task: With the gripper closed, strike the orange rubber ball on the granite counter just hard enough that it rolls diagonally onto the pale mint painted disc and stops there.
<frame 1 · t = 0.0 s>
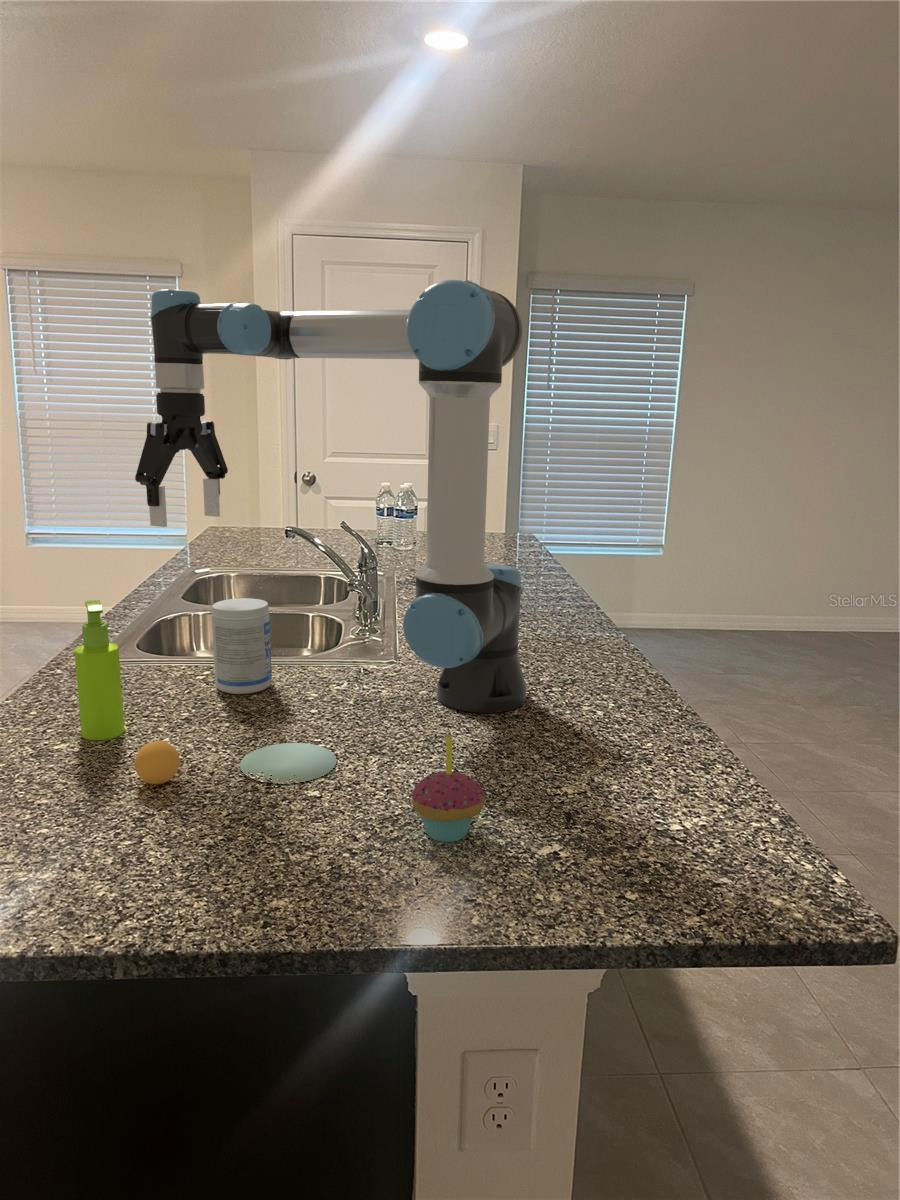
hand: (186, 521, 141), 28 cm above the worktop, tool pointing down, fingers open, 13 cm apart
soap dispenser: (103, 735, 123), on the worktop
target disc: (288, 763, 115), on the worktop
supplement tub: (243, 687, 144), on the worktop
cupcake: (447, 834, 98), on the worktop
ball: (157, 762, 108), on the worktop
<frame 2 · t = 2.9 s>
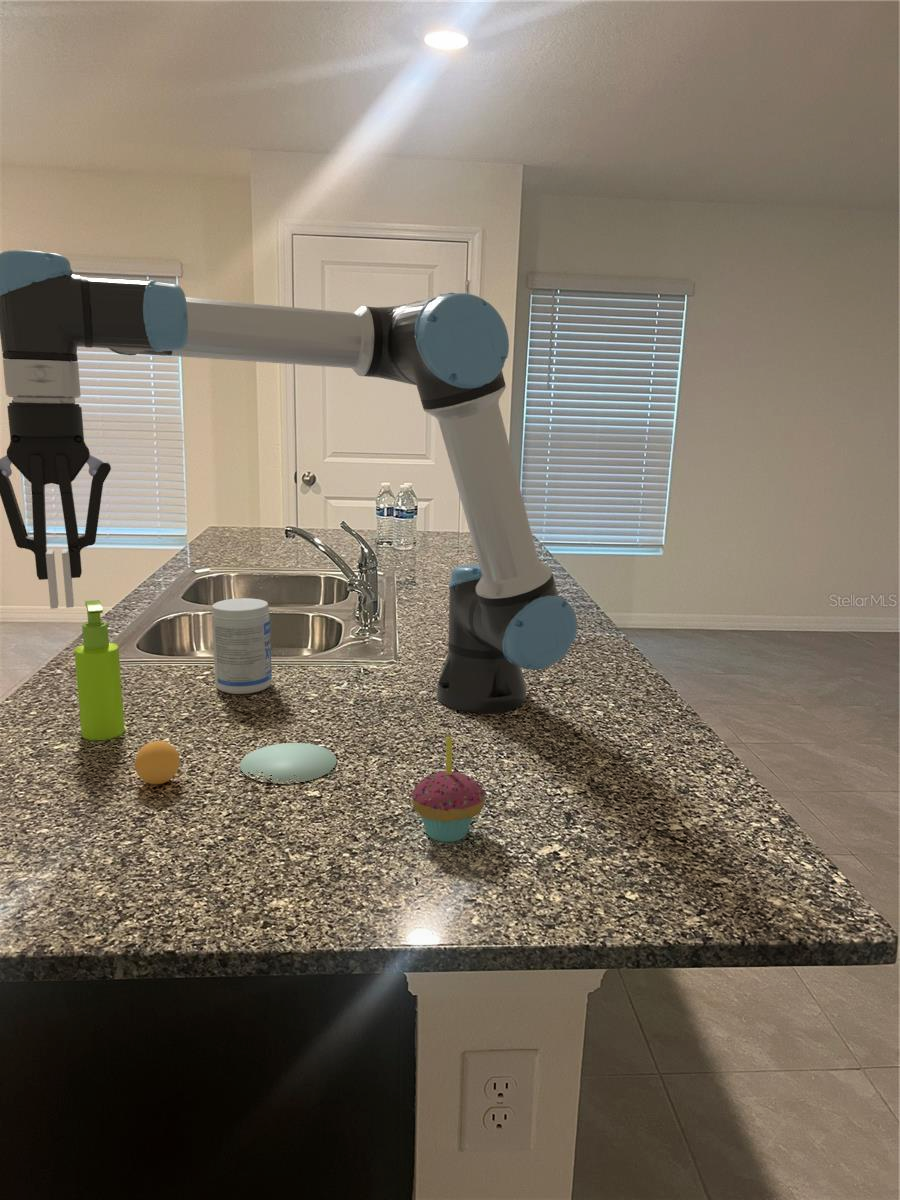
hand: (62, 604, 99), 24 cm above the worktop, tool pointing down, fingers closed
nothing on the worktop moved.
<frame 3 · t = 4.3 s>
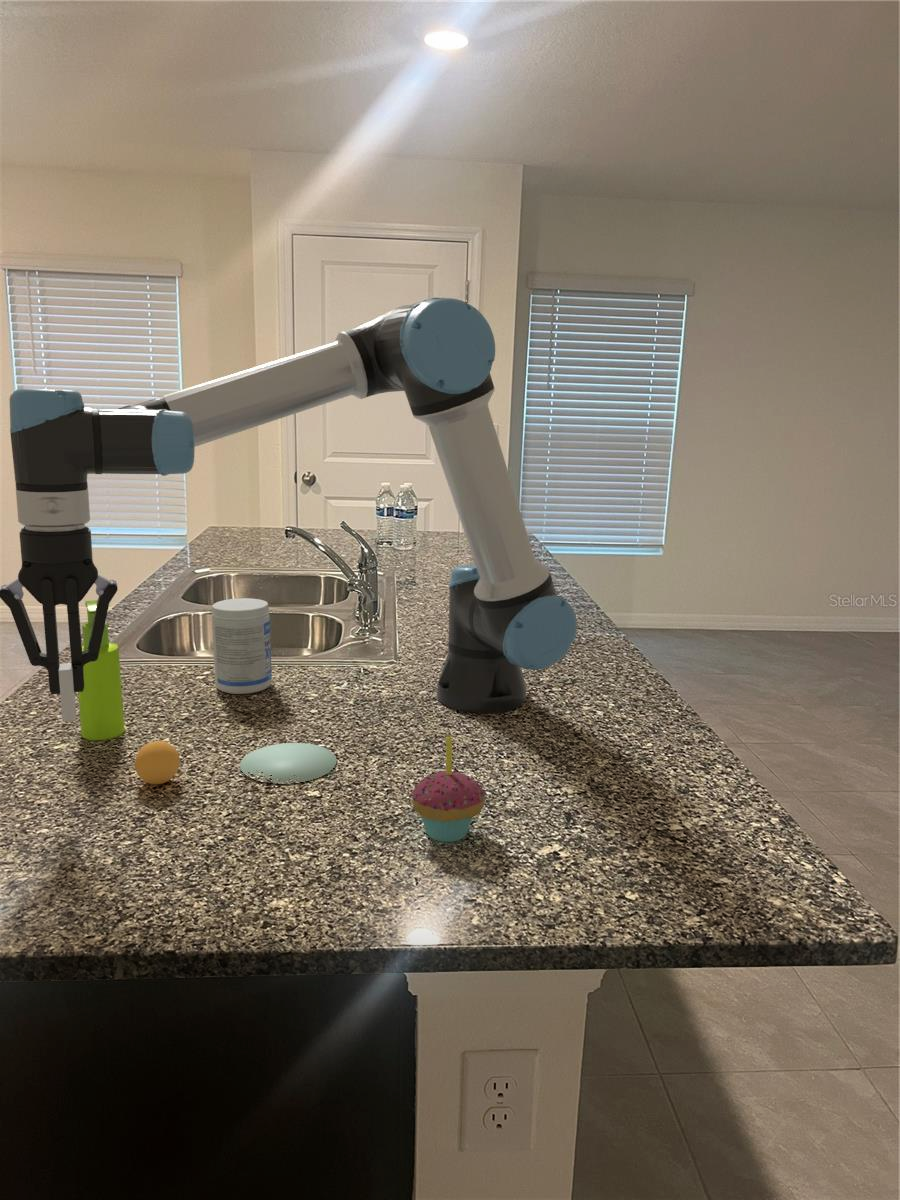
hand: (69, 716, 102), 10 cm above the worktop, tool pointing down, fingers closed
nothing on the worktop moved.
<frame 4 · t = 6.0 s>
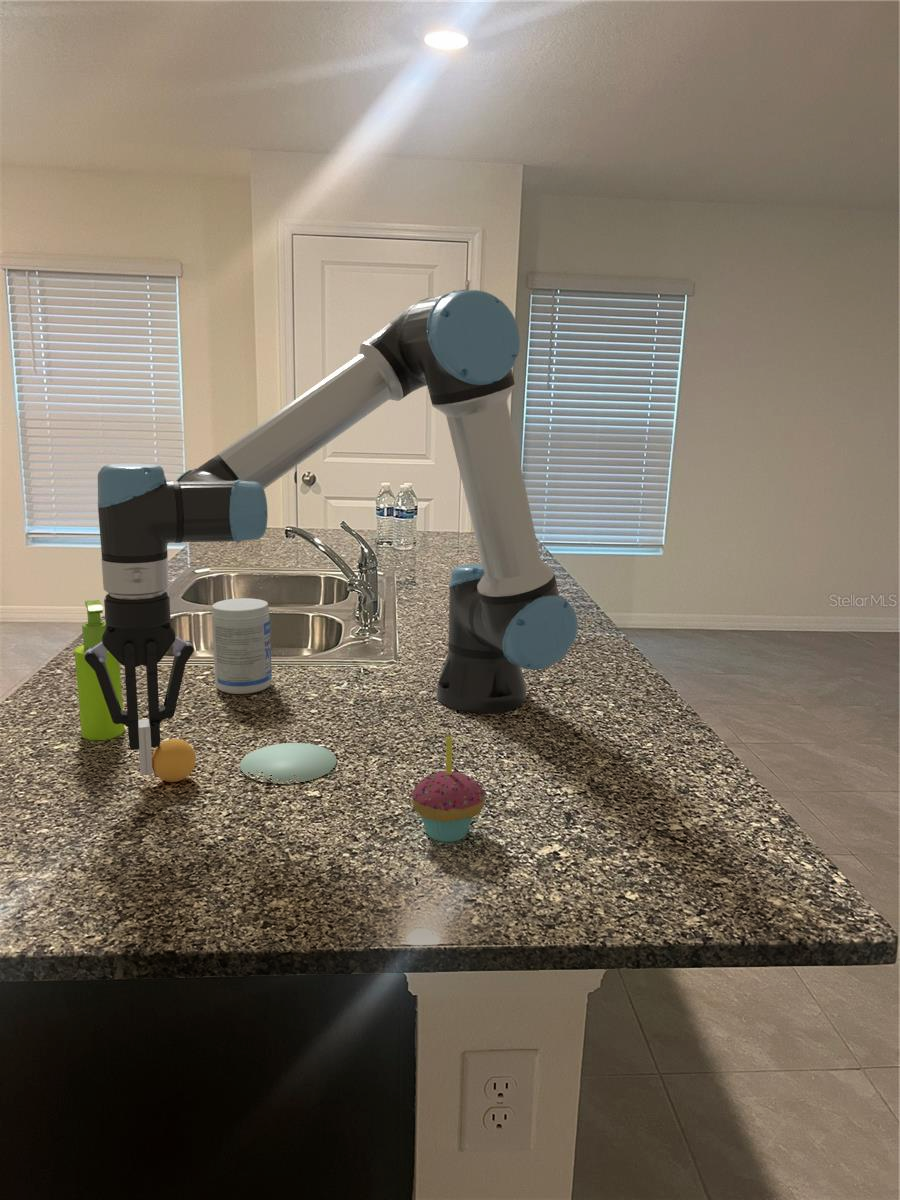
hand: (146, 770, 107), 2 cm above the worktop, tool pointing down, fingers closed
ball: (173, 760, 108), on the worktop, touching gripper
everything else where it was.
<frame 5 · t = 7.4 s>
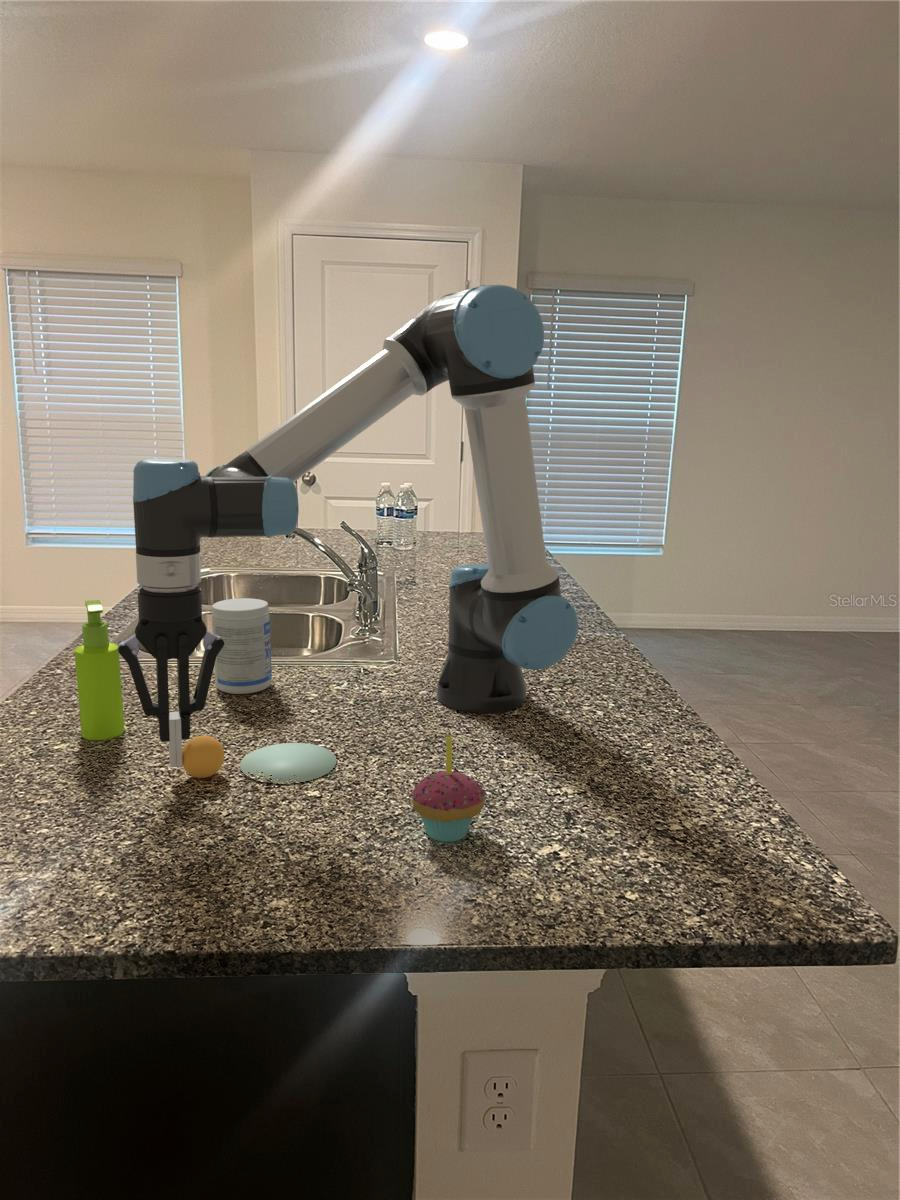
hand: (175, 762, 108), 2 cm above the worktop, tool pointing down, fingers closed
ball: (202, 756, 110), on the worktop, touching gripper
everything else where it was.
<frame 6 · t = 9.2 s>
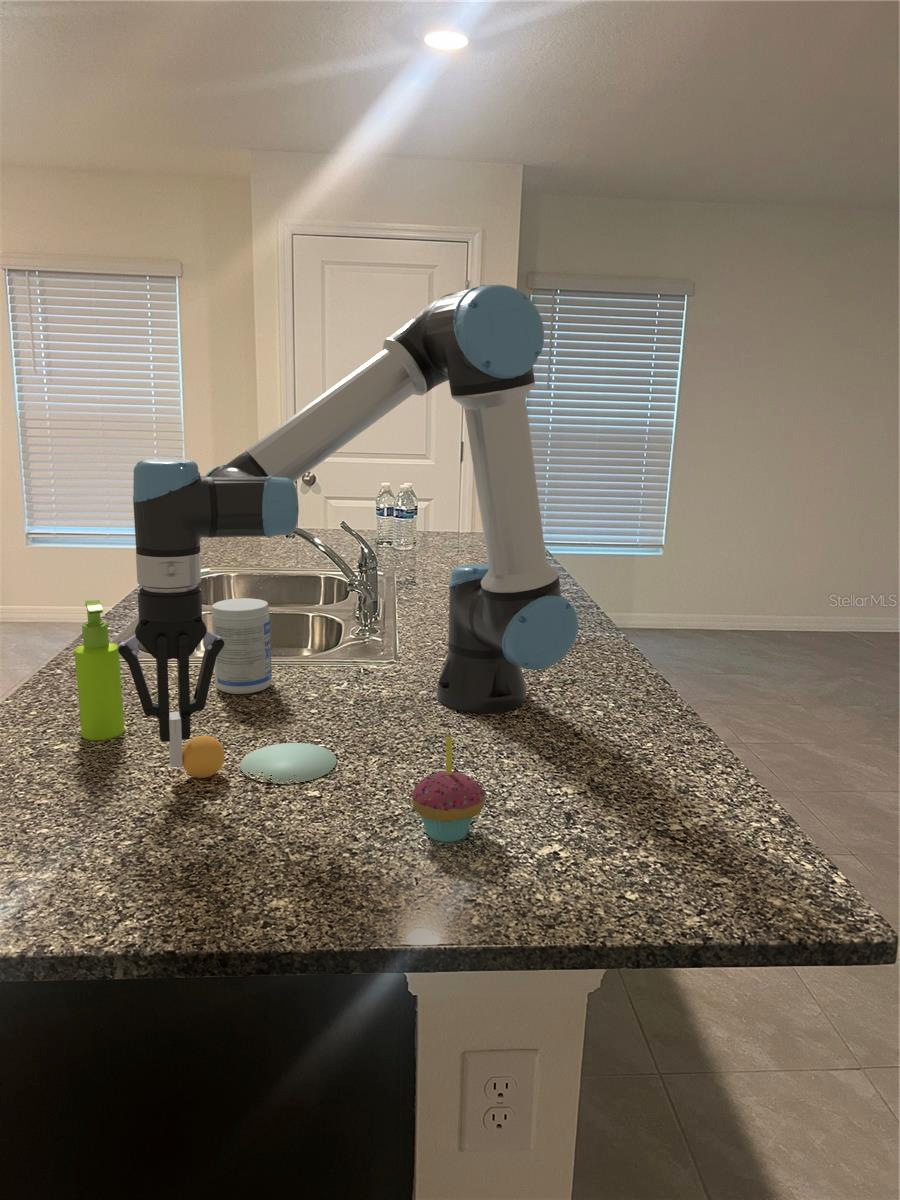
hand: (175, 762, 109), 2 cm above the worktop, tool pointing down, fingers closed
nothing on the worktop moved.
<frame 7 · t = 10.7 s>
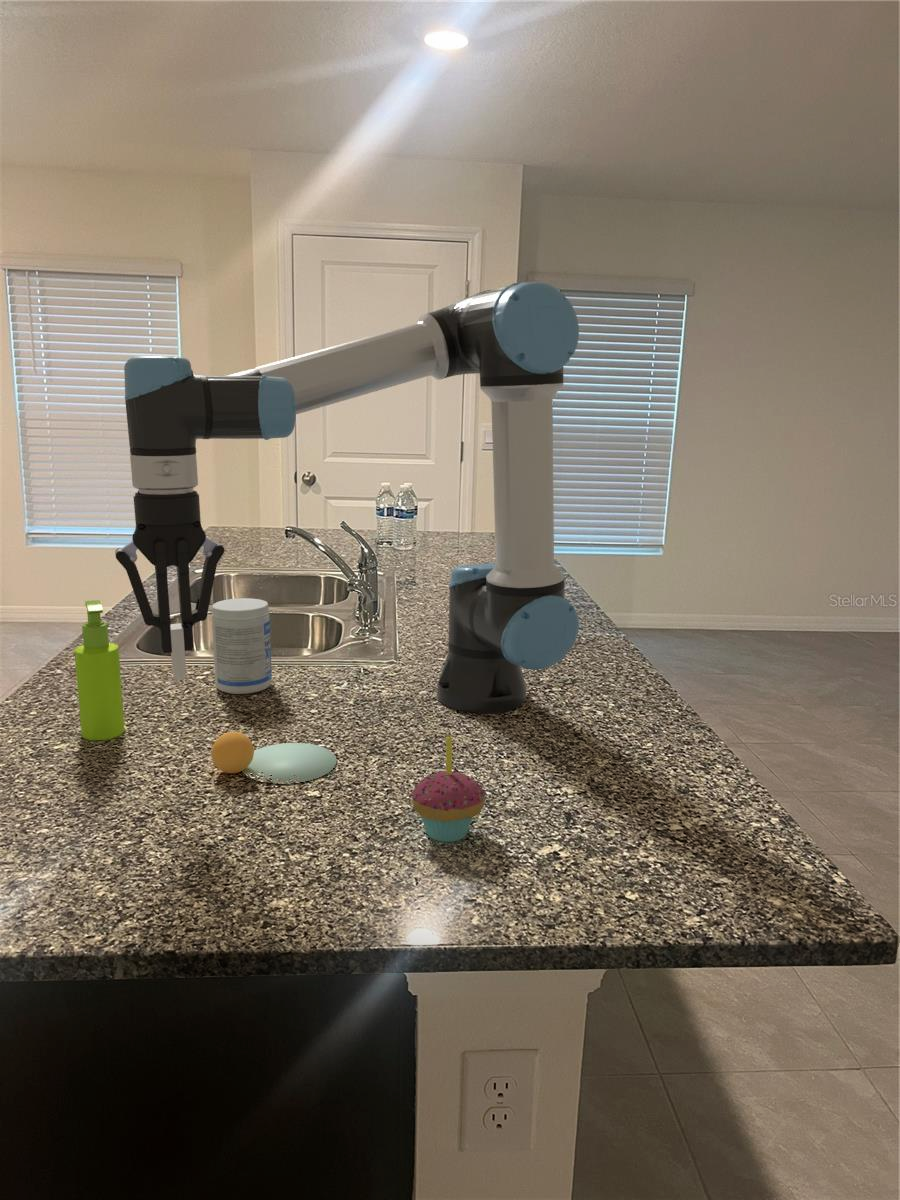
hand: (179, 675, 106), 14 cm above the worktop, tool pointing down, fingers closed
ball: (232, 752, 111), on the worktop
everything else where it was.
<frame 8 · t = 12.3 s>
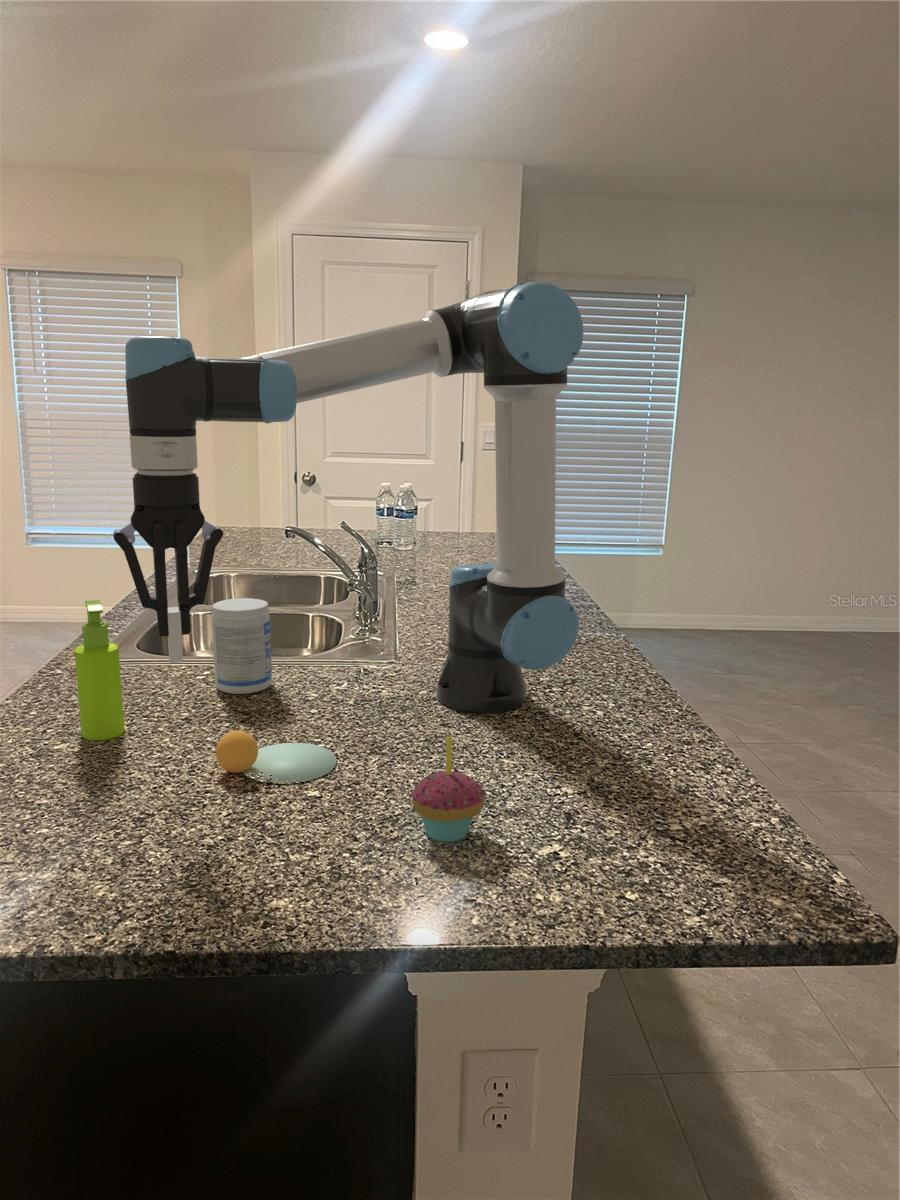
hand: (175, 659, 105), 16 cm above the worktop, tool pointing down, fingers closed
nothing on the worktop moved.
at the end: ball 6.9 cm from the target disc (horizontally); ball at rest at the end (0.0 cm/s); ball moved 10.1 cm from its start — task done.
